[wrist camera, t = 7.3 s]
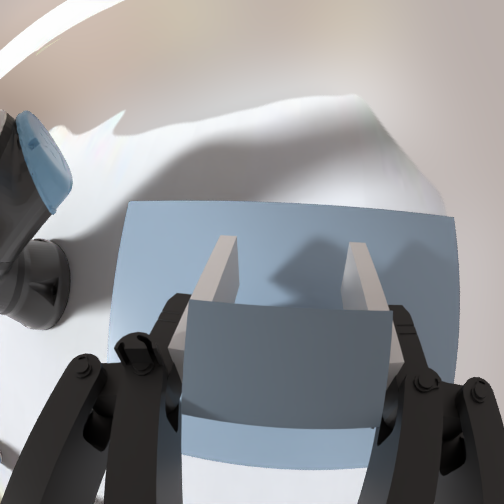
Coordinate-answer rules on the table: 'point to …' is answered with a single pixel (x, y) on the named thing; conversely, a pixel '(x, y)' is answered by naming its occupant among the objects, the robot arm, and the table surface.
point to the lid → (286, 322)
